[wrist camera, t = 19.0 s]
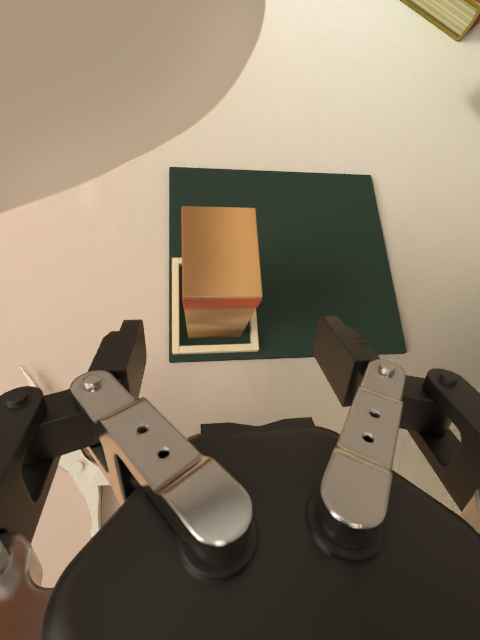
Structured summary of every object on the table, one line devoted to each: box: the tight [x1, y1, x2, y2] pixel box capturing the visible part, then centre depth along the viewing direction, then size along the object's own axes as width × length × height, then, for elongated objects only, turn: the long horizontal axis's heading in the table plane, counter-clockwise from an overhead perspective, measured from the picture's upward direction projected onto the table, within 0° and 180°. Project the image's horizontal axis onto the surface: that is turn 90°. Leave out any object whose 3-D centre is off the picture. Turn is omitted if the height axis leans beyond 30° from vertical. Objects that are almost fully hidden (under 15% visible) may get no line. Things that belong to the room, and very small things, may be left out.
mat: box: [169, 167, 407, 363], centre depth 31 cm, size 22×20×1 cm
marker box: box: [181, 206, 263, 339], centre depth 24 cm, size 5×6×10 cm
